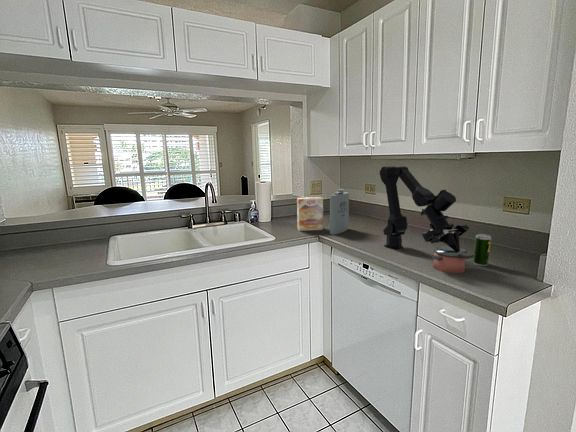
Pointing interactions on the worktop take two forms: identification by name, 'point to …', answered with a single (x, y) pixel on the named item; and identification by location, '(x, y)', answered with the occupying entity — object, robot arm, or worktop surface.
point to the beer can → (482, 249)
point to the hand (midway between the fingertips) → (458, 251)
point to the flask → (339, 212)
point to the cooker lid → (452, 252)
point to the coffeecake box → (310, 213)
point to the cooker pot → (449, 263)
